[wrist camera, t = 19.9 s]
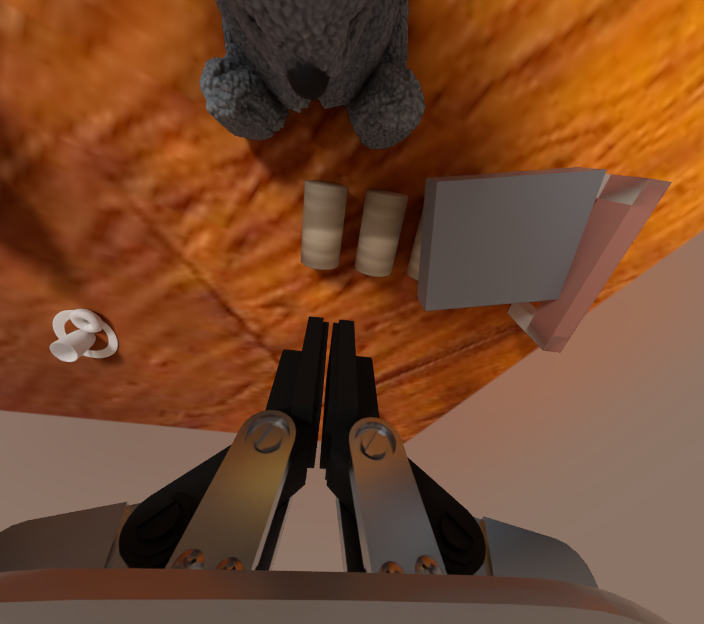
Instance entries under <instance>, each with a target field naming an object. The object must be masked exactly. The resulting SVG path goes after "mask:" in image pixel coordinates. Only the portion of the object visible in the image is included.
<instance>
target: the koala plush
mask: <svg viewBox="0 0 704 624" xmlns="http://www.w3.org/2000/svg"><path fill="white" fill-rule="evenodd" d="M216 2H217V5H218V8H219V11H220V12H221V15H222V28H223V32H224V34H225V35H224V39H225V43H226V45H225V49H226V52H227V53H226V56H224V57H223V59H221V58H218V57H217V58H216V57H214V58H212V59H211V60H207V61H206V67H204V69H203V72H202V74H201V80H200V88H201V91H202V92H203V93H204V97H205V99H206V109H207V111H208V113H209V114H211V115H212V116H213V117H214V118H215V119H216V120H217V121H218V122H219V123H220V124H221V125H222V126H224V127H225V128H226V129H227V130H228V131H229V132H231V133H232V134H233V135H235V136H239V137H245V138H247V139H251V140H254V139H256V140H261V139H262V140H265V139H268V138H271V137H272V136H273V135H274V131H275V132H276V131H279V130H280V128H281V127H282V128H284V124H285V121H286V119H287V118H286V116H287V115H288V113H289V112H288V110H289V109H293V110H294V111H296V112H298V113H300V112H301V109H302V108H307V107H308V106H309V104H308V103H310V100H314V99H318V100H319V101H320V103H321V105H322V106H323V108H325V109H327V108H332V107H335V106H341V105H346V107H347V112H348V113H349V118H350V122H351V123H352V127H353V128H354V131H355V133H357V136H359V137H360V141H361V142H362V143H364V145H365V146H367V147H369V148H370V149H384V148H388V147H391V146H394V145H395V144H397V143H399V142H400V141H402V140H403V139H404V138H406V137H407V136H409V135H410V133H411V132H412V130H413V129H415V128H416V126H417V125H419V123H420V121H421V116H422V115H423V114H424V110H425V104H424V97H423V92H422V91H421V85H420V83H419V81H418V80H417V79H416V78H415V75H414V74H413V71H412V70H411V69H408V70H407V64H406V62H407V58H408V48H407V43H408V25H407V23H408V18H407V17H408V12H409V8H408V0H216Z"/></svg>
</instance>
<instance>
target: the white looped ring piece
mask: <svg viewBox="0 0 704 624" xmlns="http://www.w3.org/2000/svg"><path fill="white" fill-rule="evenodd" d="M69 319H70V320H71V321H72V323H73V324H74V325H75V326H77V327H78V328H80V330H77V331H74V332H72V333H70V334H68V335H66V333H65V330H64V324H65V322H66V321H67V320H69ZM86 320H87V321H86ZM53 329H54V332H55V334H56V335H57V337H58V338H59V340H57V341H55V342H54V343H52V344H51V345H50V351H51V352H52V354H53V355H54V356H56V357H57V358H59V359H60V360H61V361H67V362H73V361H76V360H77V359H78V358H79V357H80V356H82V355H84V356H88V357H92V358H105V357H109V356H111V355H113V354H114V353H115V352H116V350H117V348H118V340H117V337H116V335H115V333H114V332H113V330H112V329H111V328H110V327H109V326H108V325H107V324H106V323H105V322H104V321H102V319H101V318H100V317H99V316H98V315H97V314H95V313H94V312H92V311H90V310H87V309H76V310H66V311H62V312H60V313H58V314H57V315H56V316H55V318H54V320H53ZM102 329H103V330H104V331H105V332H106V334H107V336H108V338H109V344H108V346H107V347H106V348H105V349H103V350H99V351H92V350H88V349H89V348H90V347H91V346H92V345H93V344H94V342H95V340H96V336H95V334H94V333H96V332H99V331H101V330H102Z"/></svg>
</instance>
